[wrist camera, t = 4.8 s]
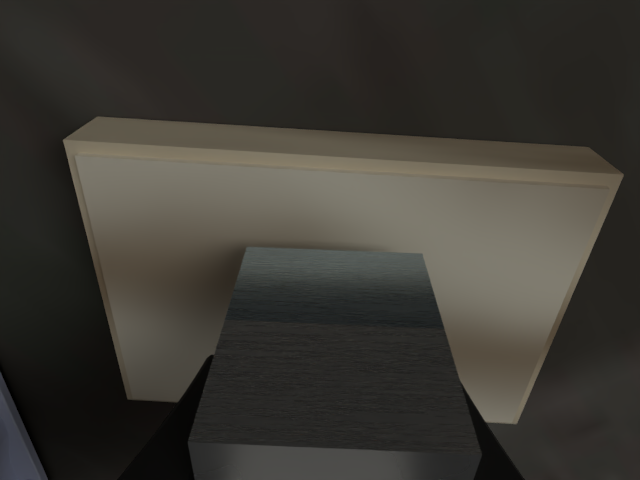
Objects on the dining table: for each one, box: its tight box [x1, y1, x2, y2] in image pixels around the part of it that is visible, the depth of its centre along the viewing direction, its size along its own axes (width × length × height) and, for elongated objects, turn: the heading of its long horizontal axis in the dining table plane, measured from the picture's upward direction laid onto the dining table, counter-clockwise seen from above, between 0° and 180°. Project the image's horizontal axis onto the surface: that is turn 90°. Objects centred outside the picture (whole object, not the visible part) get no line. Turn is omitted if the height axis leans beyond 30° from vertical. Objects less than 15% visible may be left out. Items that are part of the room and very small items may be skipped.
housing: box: [188, 247, 482, 480], centre depth 10 cm, size 5×4×5 cm
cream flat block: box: [63, 117, 624, 424], centre depth 14 cm, size 9×13×2 cm
